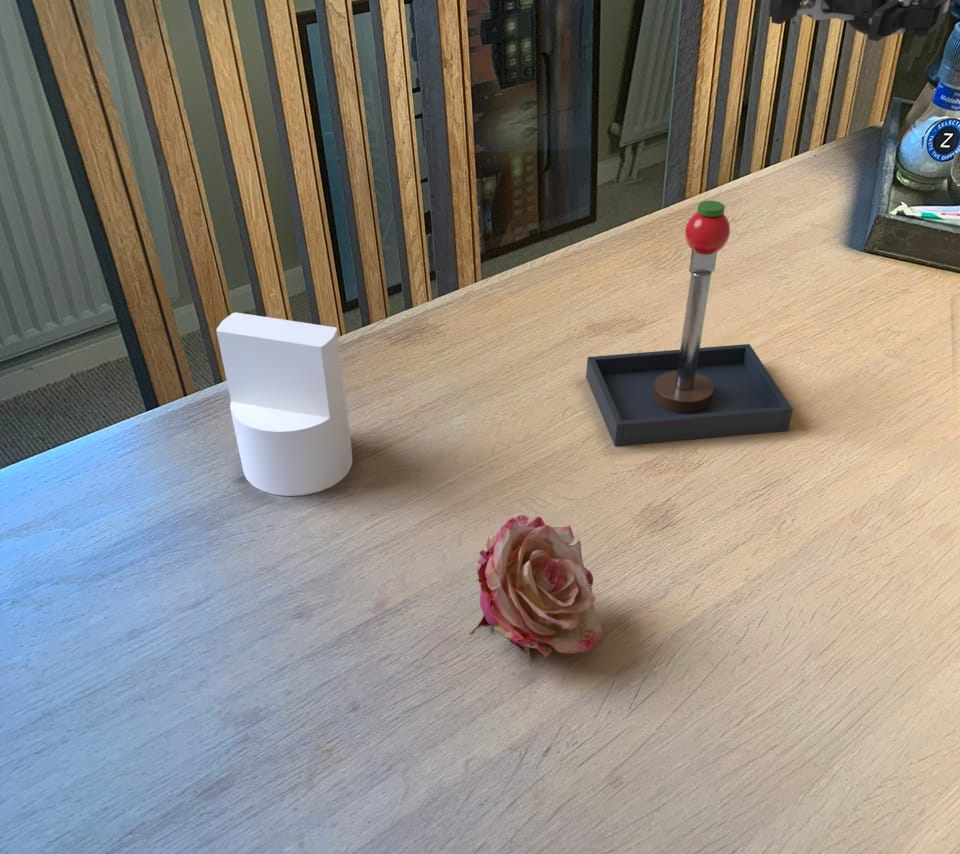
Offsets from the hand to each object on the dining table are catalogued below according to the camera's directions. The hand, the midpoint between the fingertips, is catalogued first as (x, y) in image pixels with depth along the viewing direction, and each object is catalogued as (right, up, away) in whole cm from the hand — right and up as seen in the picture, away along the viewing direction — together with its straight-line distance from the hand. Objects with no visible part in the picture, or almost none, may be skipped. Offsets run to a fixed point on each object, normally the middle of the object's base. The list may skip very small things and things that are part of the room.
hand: (824, 18), depth 84 cm
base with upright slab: (-43, -37, +1) cm, 57 cm away
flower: (-24, -51, -14) cm, 58 cm away
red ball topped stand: (-10, -30, +7) cm, 32 cm away
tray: (-10, -30, +7) cm, 32 cm away
